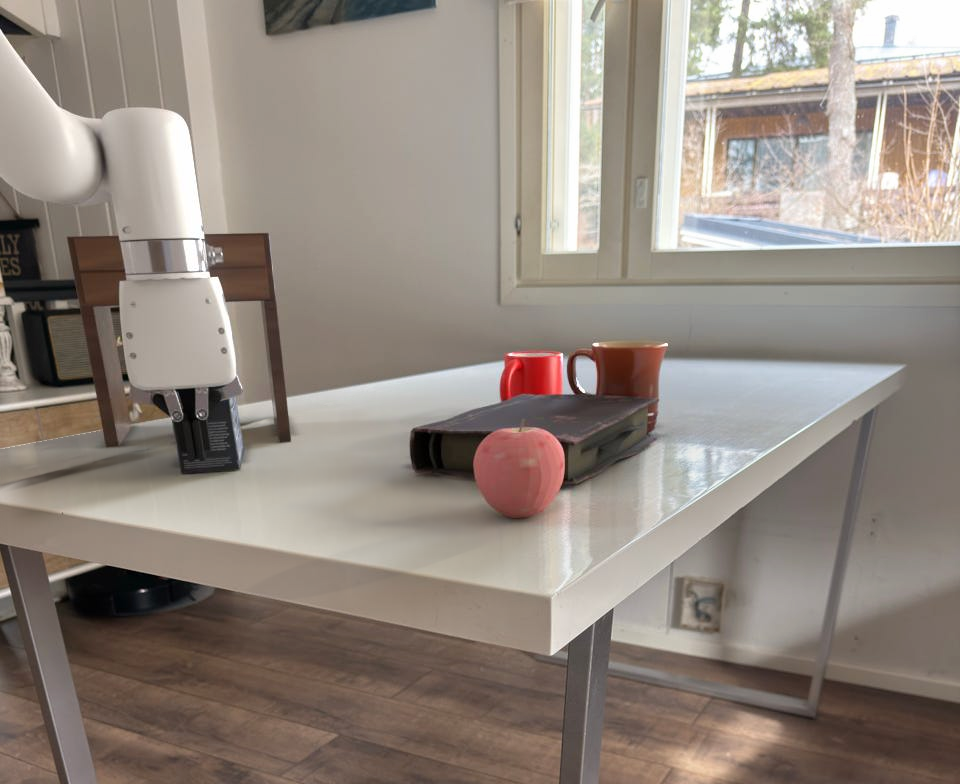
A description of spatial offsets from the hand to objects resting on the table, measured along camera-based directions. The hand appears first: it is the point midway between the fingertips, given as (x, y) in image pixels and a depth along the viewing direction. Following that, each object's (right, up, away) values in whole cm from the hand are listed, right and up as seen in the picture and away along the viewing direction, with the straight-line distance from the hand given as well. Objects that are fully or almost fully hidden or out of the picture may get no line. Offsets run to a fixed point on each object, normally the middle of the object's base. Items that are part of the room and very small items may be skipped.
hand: (197, 458), depth 90 cm
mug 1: (+35, +12, +31) cm, 48 cm away
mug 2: (+45, +7, +18) cm, 49 cm away
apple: (+32, -8, -16) cm, 37 cm away
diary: (+36, +1, +5) cm, 36 cm away
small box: (0, +1, +7) cm, 7 cm away
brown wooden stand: (-6, +7, +21) cm, 23 cm away
